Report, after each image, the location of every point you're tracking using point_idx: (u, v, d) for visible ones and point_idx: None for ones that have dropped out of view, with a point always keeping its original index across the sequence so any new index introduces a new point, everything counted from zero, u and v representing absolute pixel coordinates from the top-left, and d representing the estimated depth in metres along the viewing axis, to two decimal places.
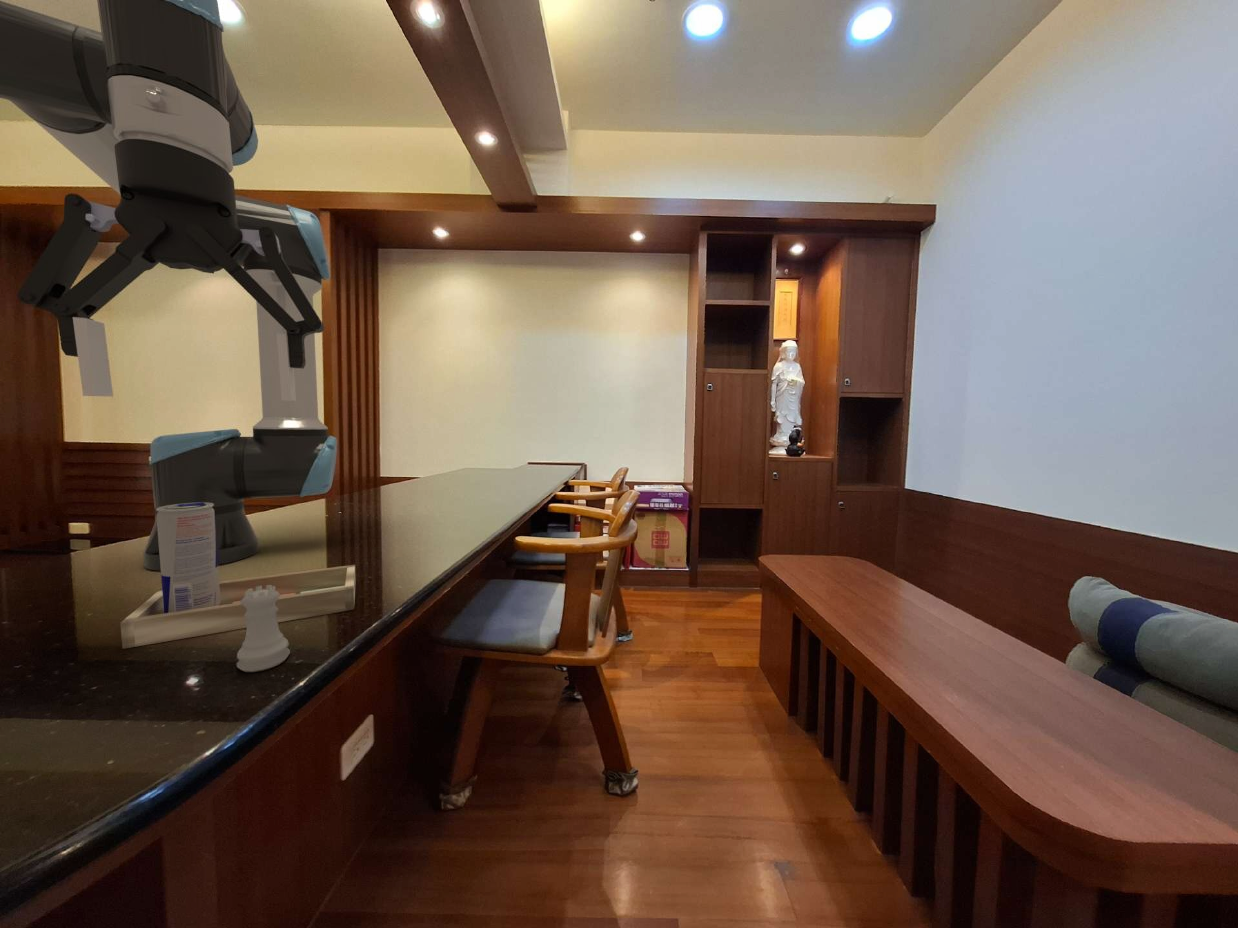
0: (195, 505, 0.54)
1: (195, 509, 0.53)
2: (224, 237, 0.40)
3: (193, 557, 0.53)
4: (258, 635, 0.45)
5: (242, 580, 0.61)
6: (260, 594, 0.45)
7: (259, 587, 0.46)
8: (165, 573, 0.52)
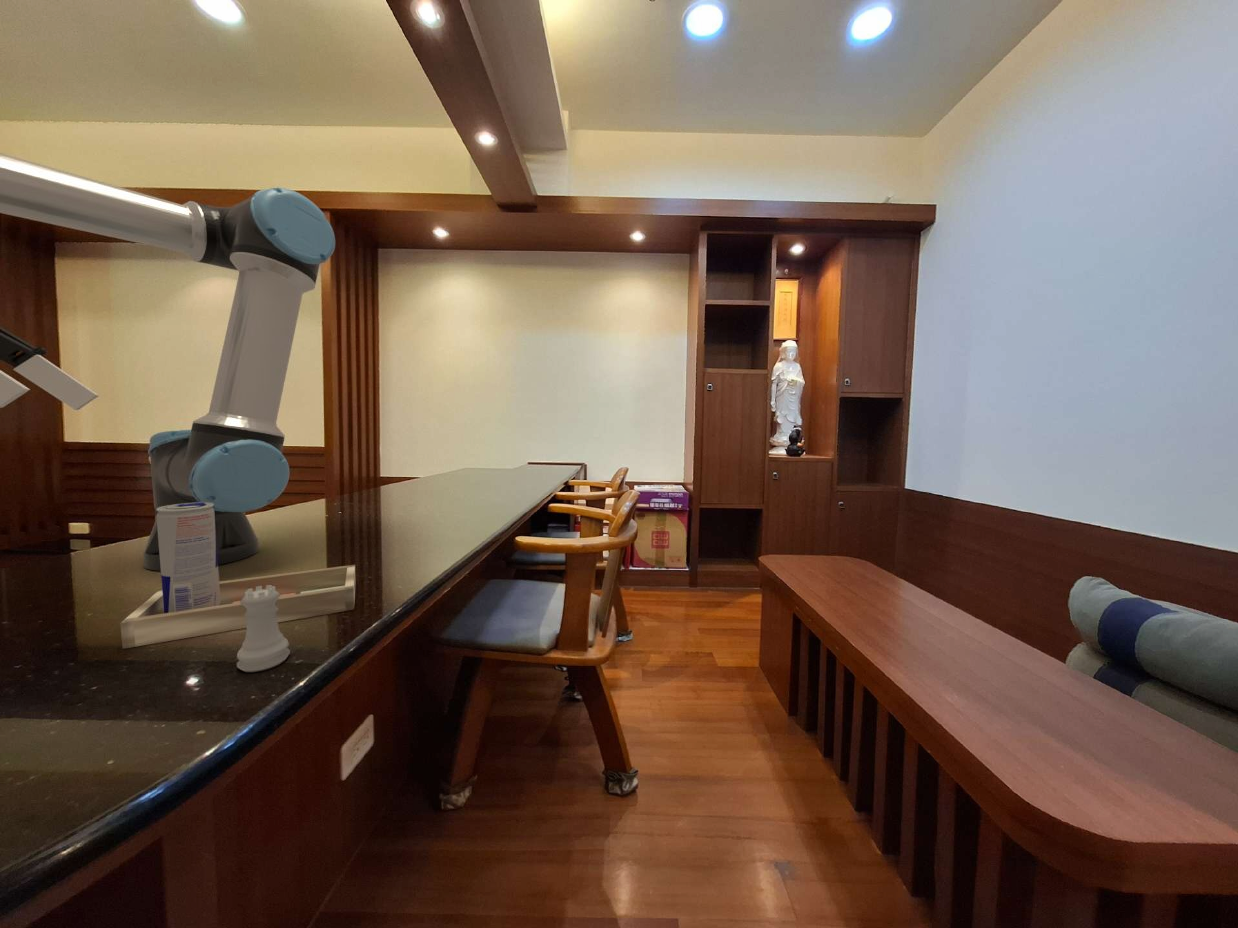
0: (195, 505, 0.54)
1: (195, 509, 0.53)
2: None
3: (193, 557, 0.53)
4: (258, 635, 0.45)
5: (242, 580, 0.61)
6: (260, 594, 0.45)
7: (259, 587, 0.46)
8: (165, 573, 0.52)
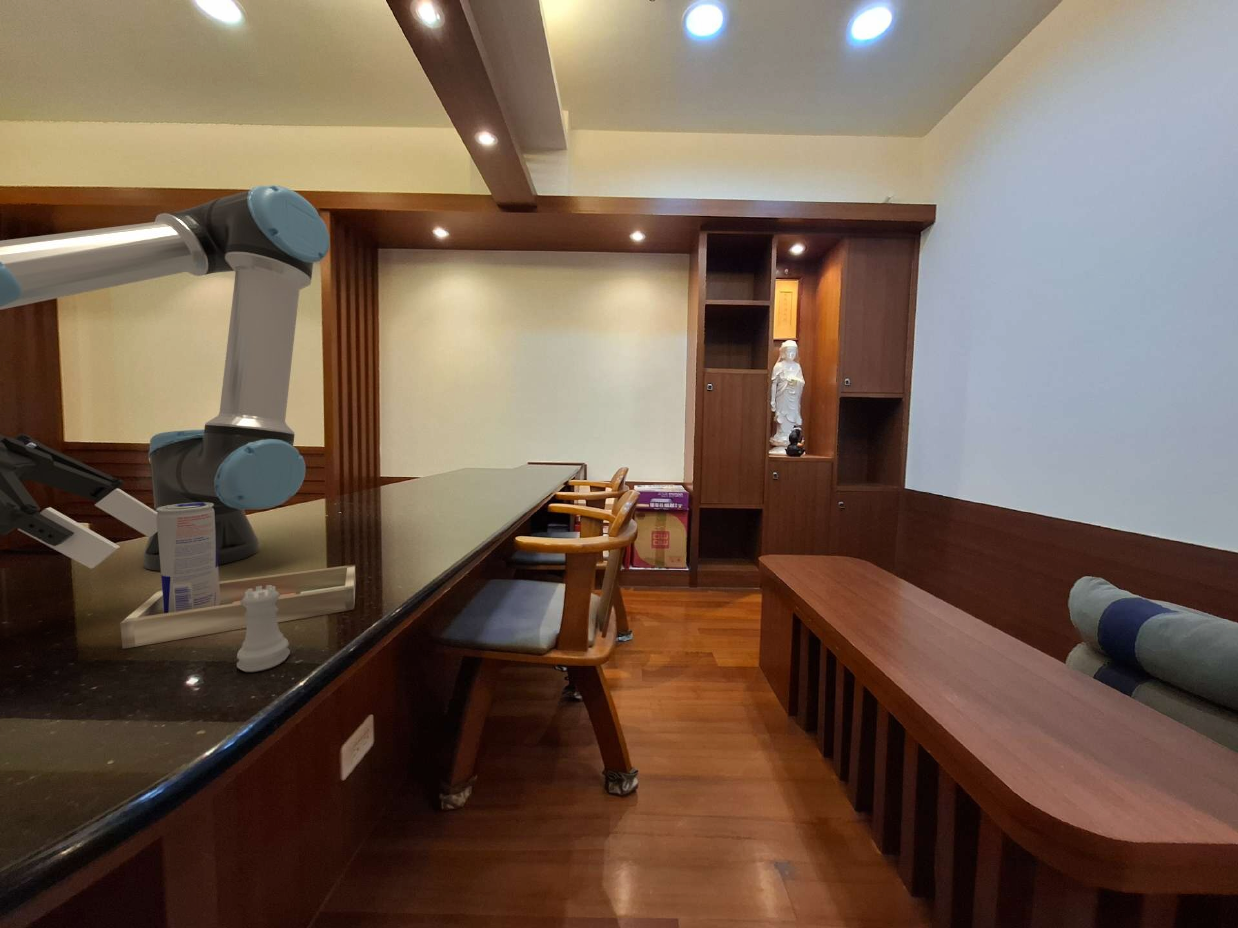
0: (195, 505, 0.54)
1: (195, 509, 0.53)
2: None
3: (193, 557, 0.53)
4: (258, 635, 0.45)
5: (242, 580, 0.61)
6: (260, 594, 0.45)
7: (259, 587, 0.46)
8: (165, 573, 0.52)
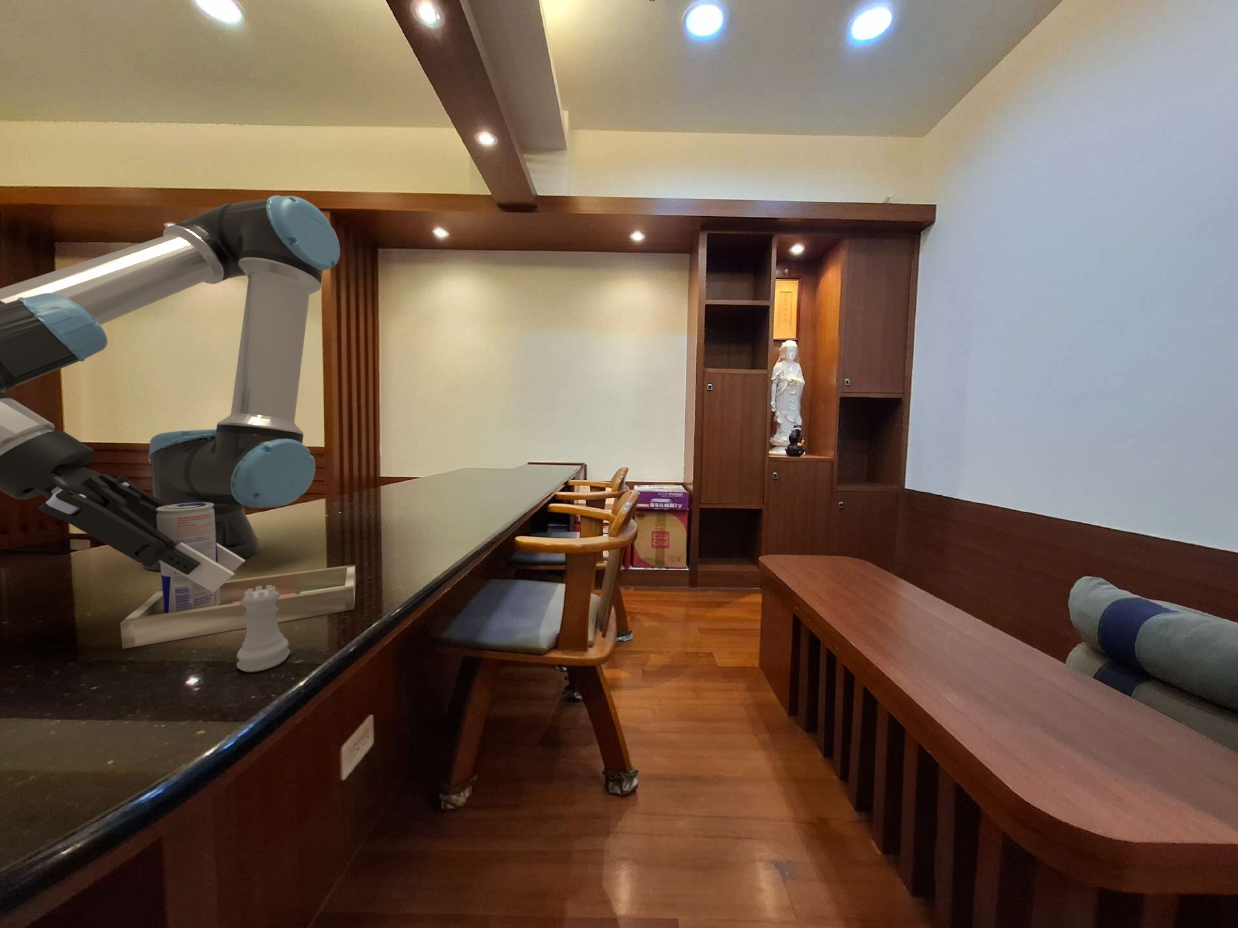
0: (195, 505, 0.54)
1: (195, 509, 0.53)
2: None
3: None
4: (258, 635, 0.45)
5: (242, 580, 0.61)
6: (260, 594, 0.45)
7: (259, 587, 0.46)
8: (165, 573, 0.52)
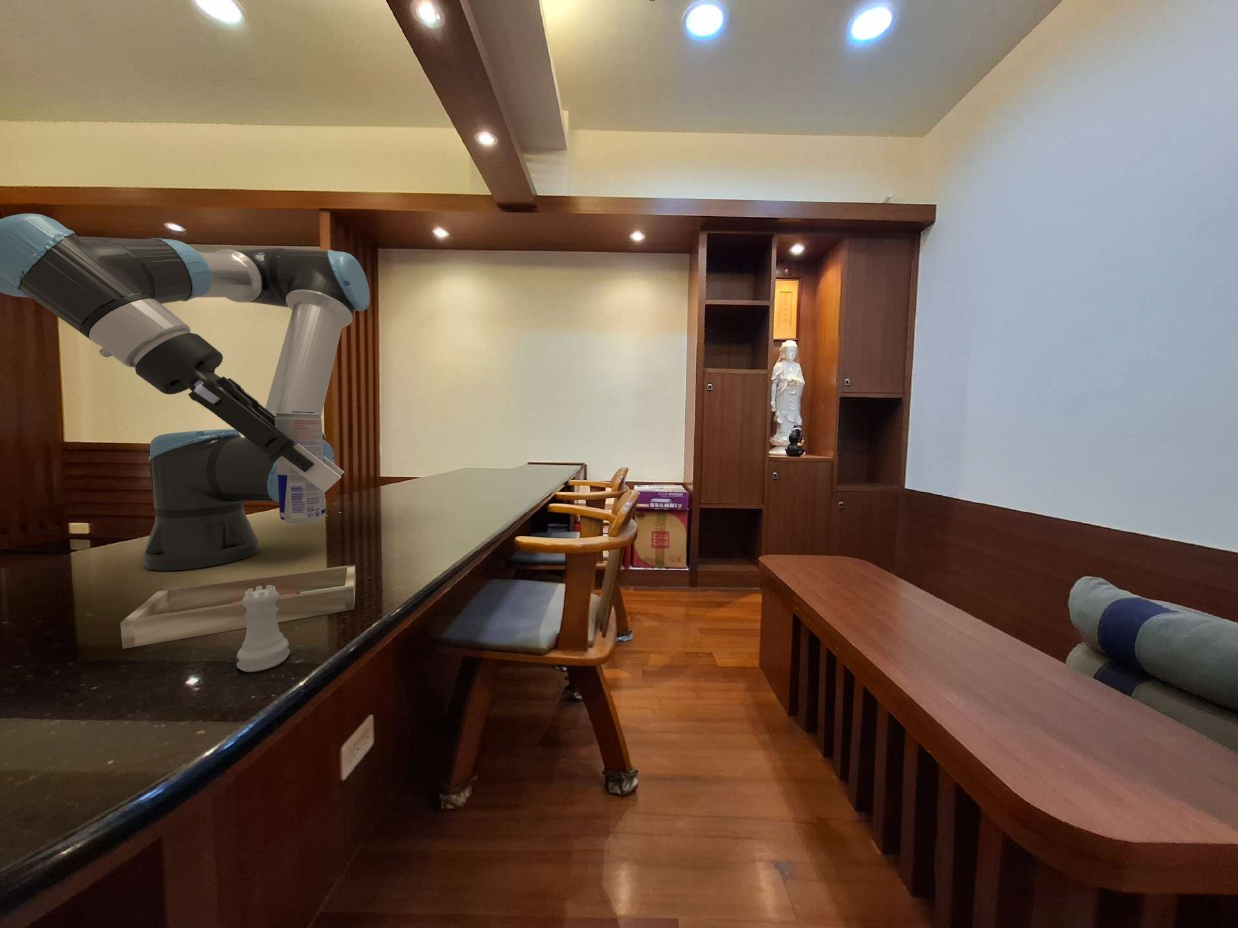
0: (307, 412, 0.58)
1: (309, 414, 0.57)
2: None
3: None
4: (258, 635, 0.45)
5: (242, 580, 0.61)
6: (260, 594, 0.45)
7: (259, 587, 0.46)
8: (282, 472, 0.56)
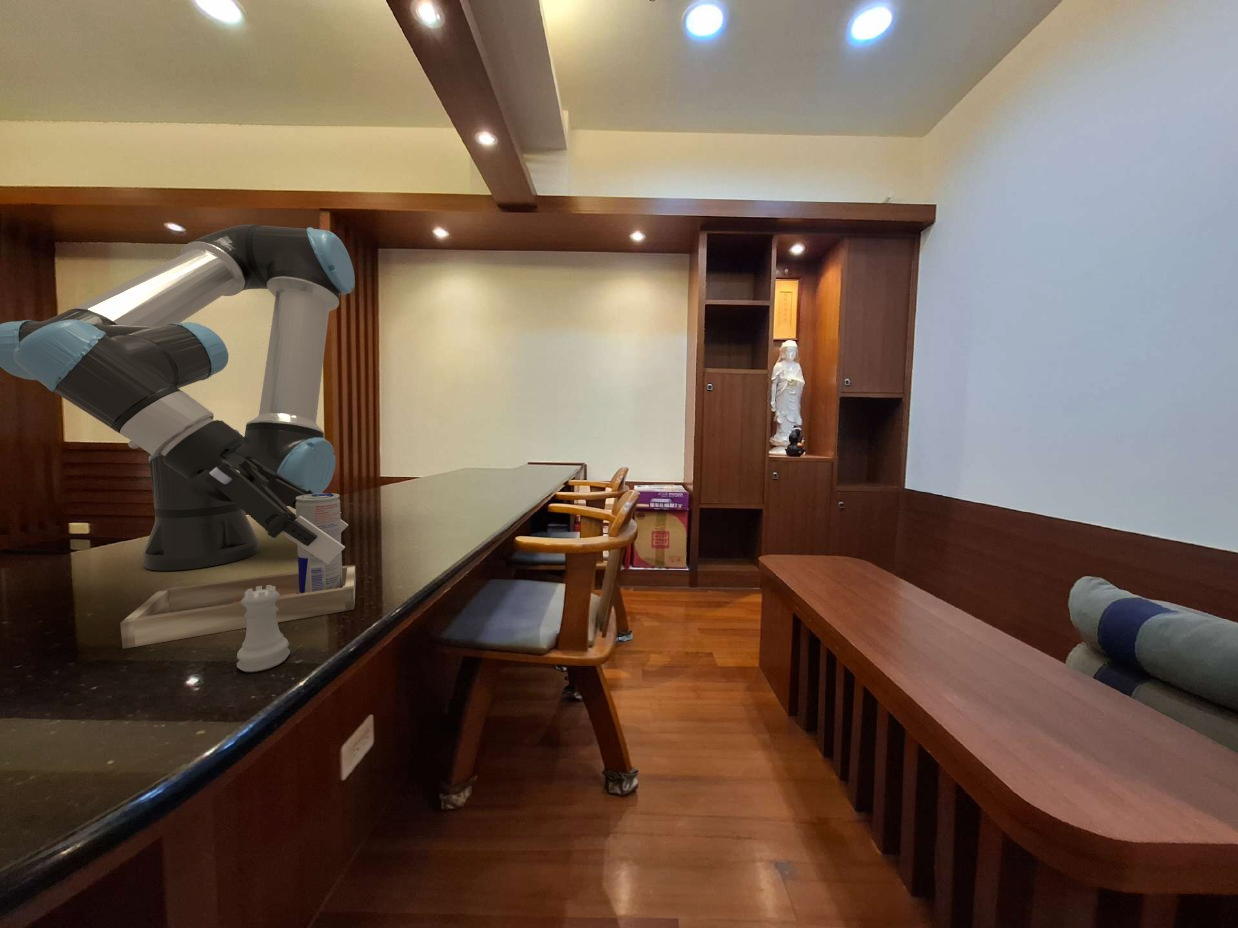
0: (326, 495, 0.61)
1: (328, 499, 0.59)
2: None
3: None
4: (258, 635, 0.45)
5: (242, 580, 0.61)
6: (260, 594, 0.45)
7: (259, 587, 0.46)
8: (303, 555, 0.59)
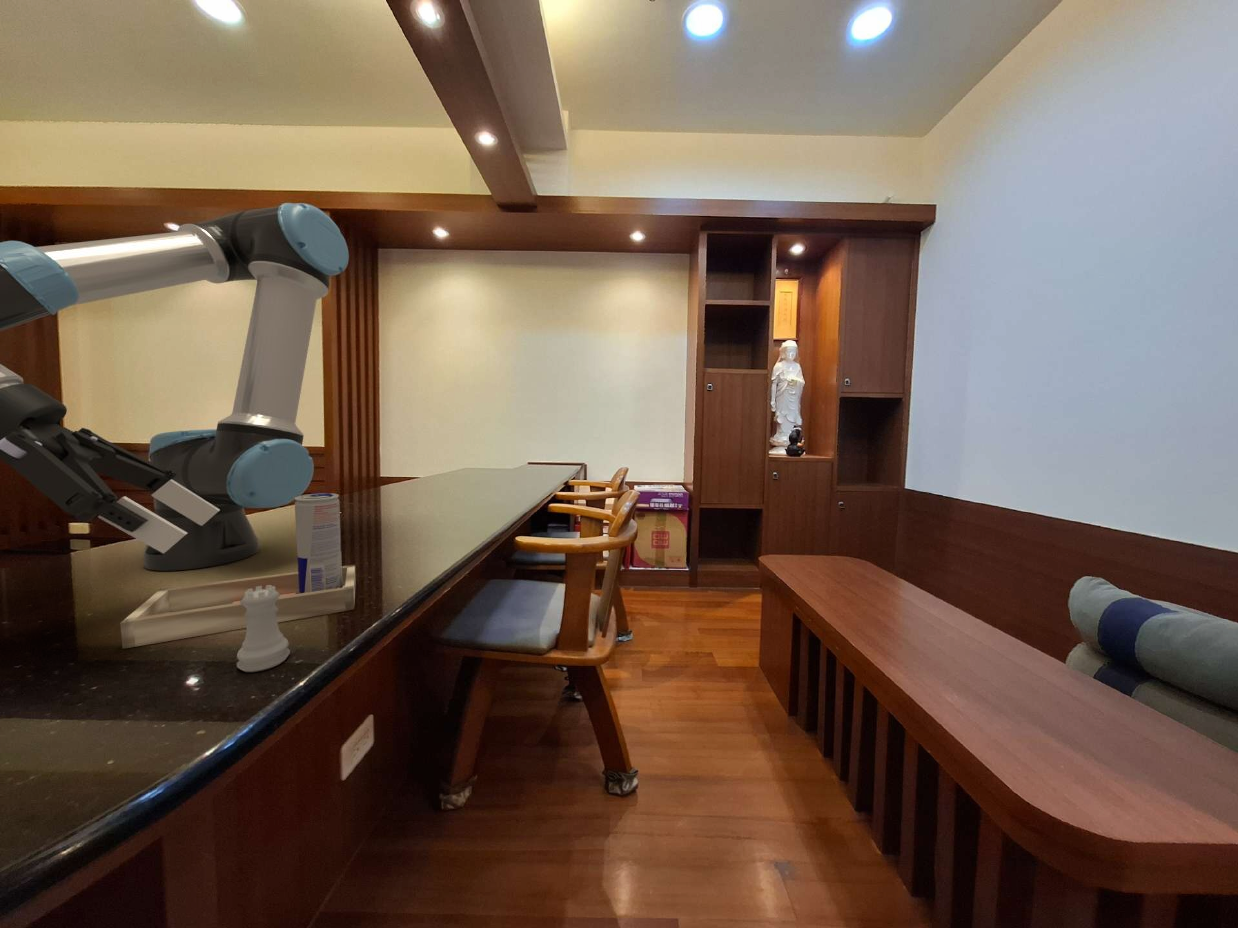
0: (325, 495, 0.60)
1: (328, 499, 0.59)
2: None
3: (326, 542, 0.60)
4: (258, 635, 0.45)
5: (242, 580, 0.61)
6: (260, 594, 0.45)
7: (259, 587, 0.46)
8: (303, 555, 0.59)
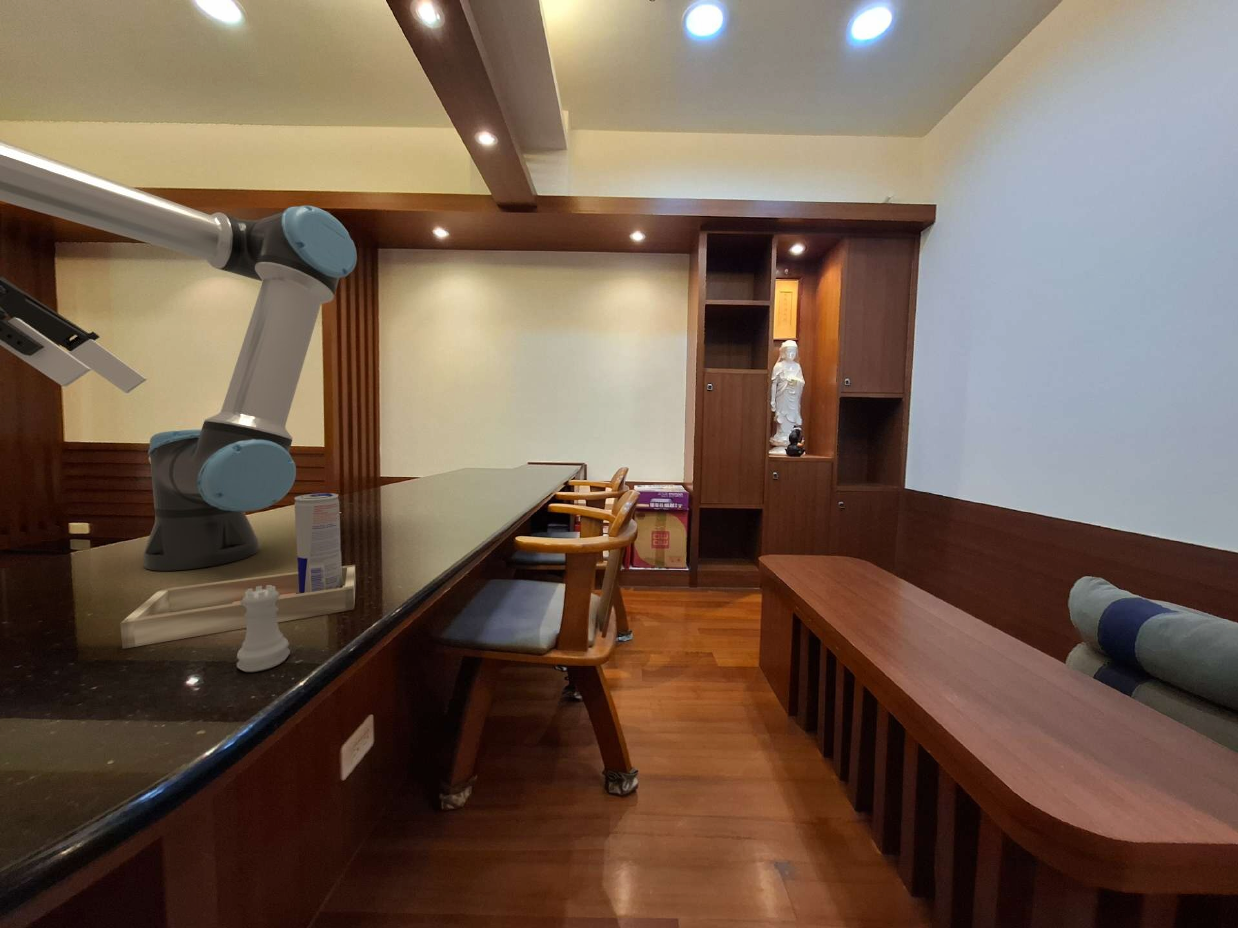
0: (325, 495, 0.61)
1: (327, 499, 0.59)
2: None
3: (326, 541, 0.60)
4: (258, 635, 0.45)
5: (242, 580, 0.61)
6: (260, 594, 0.45)
7: (259, 587, 0.46)
8: (302, 555, 0.59)
